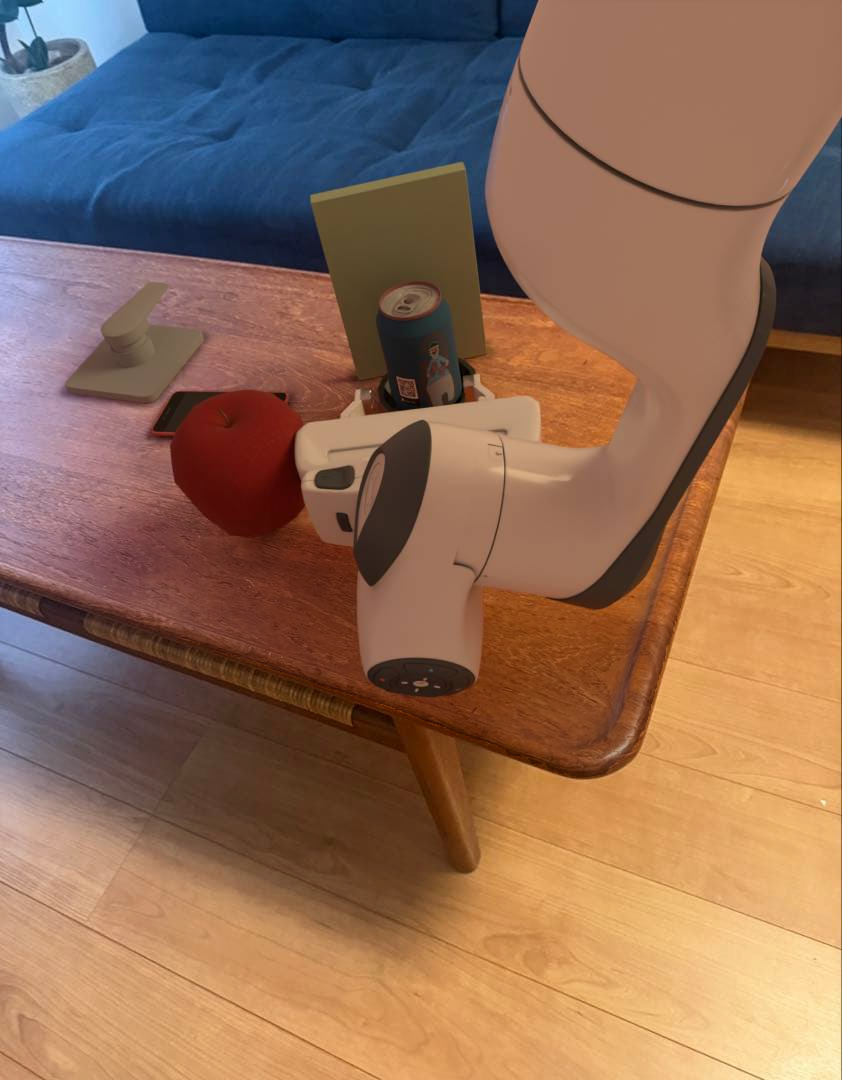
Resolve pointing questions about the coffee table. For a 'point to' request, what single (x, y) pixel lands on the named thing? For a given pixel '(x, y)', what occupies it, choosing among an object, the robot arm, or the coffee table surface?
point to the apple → (240, 461)
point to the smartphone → (187, 409)
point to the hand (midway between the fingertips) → (418, 387)
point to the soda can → (418, 346)
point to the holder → (387, 397)
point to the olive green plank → (401, 254)
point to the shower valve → (135, 353)
